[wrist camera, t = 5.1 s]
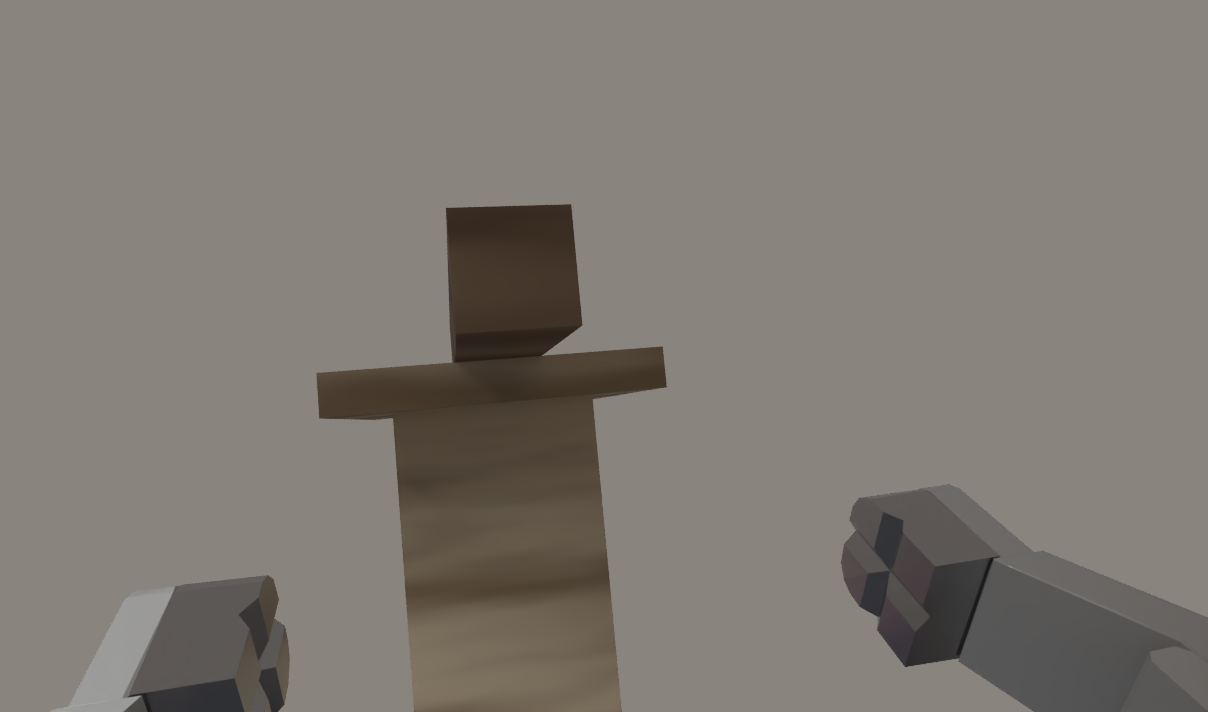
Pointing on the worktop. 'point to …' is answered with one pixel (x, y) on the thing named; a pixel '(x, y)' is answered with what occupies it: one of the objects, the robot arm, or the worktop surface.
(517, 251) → the block
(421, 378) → the stand
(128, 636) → the robot arm
